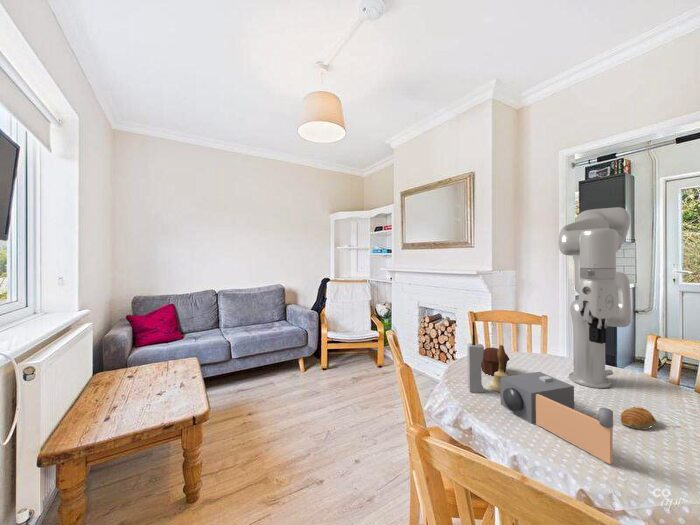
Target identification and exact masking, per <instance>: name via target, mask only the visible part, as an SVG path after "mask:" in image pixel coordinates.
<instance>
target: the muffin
mask: <svg viewBox="0 0 700 525" xmlns="http://www.w3.org/2000/svg"><path fill="white" fill-rule="evenodd" d="M498 349H499V348H496V347H486V348H484V353H483V361H482V363H481V372H482V371H483V372H484V374H485V375H486V374H488V375H487V376H490V375H491V376H490V377H494V373H495V372H497V371H498V369H499V360H498V356H497V352H498ZM509 361H510V358H509V356H508V354H507V353H506V352H505V359H504V373H506V372H507V365H508V362H509ZM483 372H482V373H483Z"/></svg>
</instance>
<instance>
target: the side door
mask: <svg viewBox="0 0 700 525" xmlns="http://www.w3.org/2000/svg"><path fill="white" fill-rule="evenodd" d="M598 411H599V412H598V413H599V419H596V418H593V417H592V416H589V415H587V414H584V413H583V412H580V411H579V410H575V409H574V410H573V409H571V408H569V407H567V406H564V405H562V404H560V403H558V402H555V401H553V400H551V399H548V398H546V397H544V396H542V395H539V394H536V423H535V424H536V425H537V426H539V427H540V428H543V429H545V430H546V431H549V432H550V433H552V434H554V435H556V436H558V437H560V438H561V439H563V440H565V441H566V442H568V443H570V444H572V445H574V446H576V447H578V448H580V449H581V450H583V451H585V452H588V453H589V454H591V455H592V456H594V457H596V458H597V459H600V460H602V461H603V462H605V463H607V464H609V465H611V464H613V460H614V458H613V456H614V454H613V451H614V450H613V448H614V447H613V444H614V442H613V435H614V434H613V432H614V431H613V428H614V411H613V410H612V409H611V408H610V409H609V408H607V407H599V410H598Z"/></svg>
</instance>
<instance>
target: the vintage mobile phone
mask: <svg viewBox="0 0 700 525" xmlns="http://www.w3.org/2000/svg"><path fill="white" fill-rule="evenodd" d="M466 345H467V347H466V348H467V349H466V350H467V352H466V354H467V359H466V360H467V388H468V390H469V392H470V393H479V394H480V393H481V394H483V393H484V394H485V388H484V385H483V384H482V383H483V382H482V368H481V363H482V361H483V353H484V349H485V346H484V344H482V343H476V334H475V322H474V321H473V322H472V342H471V343H468V342H467V344H466Z"/></svg>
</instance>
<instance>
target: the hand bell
mask: <svg viewBox="0 0 700 525" xmlns="http://www.w3.org/2000/svg"><path fill="white" fill-rule="evenodd" d="M497 349H498V352H497V356H498V360H499V369H498V371H497V372H495V373H494V376H493V379H492V380H491V382H490V383H489V384H488V388H489V389H491V390H493V391H494V392H498V393H501V379H500V377H506V376H509V375H508V373H506V372H505V373H504V359H505V353H506V350H505V347H504V345H502V344H500V345H499V346H498V348H497Z"/></svg>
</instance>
